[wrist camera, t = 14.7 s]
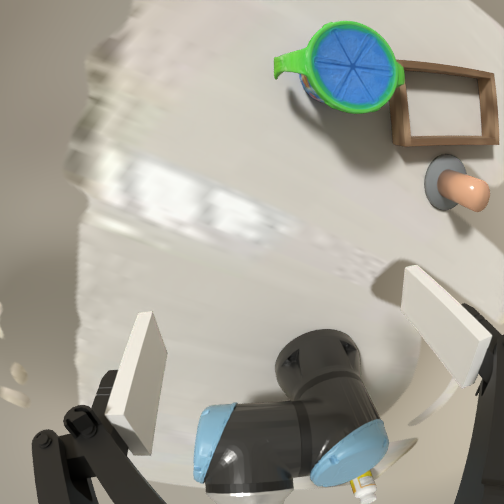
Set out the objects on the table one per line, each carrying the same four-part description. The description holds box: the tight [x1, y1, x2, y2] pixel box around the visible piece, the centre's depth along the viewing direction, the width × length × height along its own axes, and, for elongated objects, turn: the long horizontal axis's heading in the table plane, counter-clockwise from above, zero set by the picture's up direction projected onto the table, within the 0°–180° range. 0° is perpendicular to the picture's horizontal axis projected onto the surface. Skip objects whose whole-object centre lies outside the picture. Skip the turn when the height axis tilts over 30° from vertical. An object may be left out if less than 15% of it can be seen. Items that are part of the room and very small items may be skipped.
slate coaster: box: [424, 154, 467, 210], centre depth 44 cm, size 9×9×1 cm
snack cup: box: [274, 21, 405, 114], centre depth 32 cm, size 16×10×10 cm
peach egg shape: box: [437, 169, 490, 212], centre depth 40 cm, size 5×5×8 cm
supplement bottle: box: [350, 470, 377, 504], centre depth 69 cm, size 7×7×13 cm
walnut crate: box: [389, 60, 499, 147], centre depth 37 cm, size 12×20×4 cm, turn 99°
